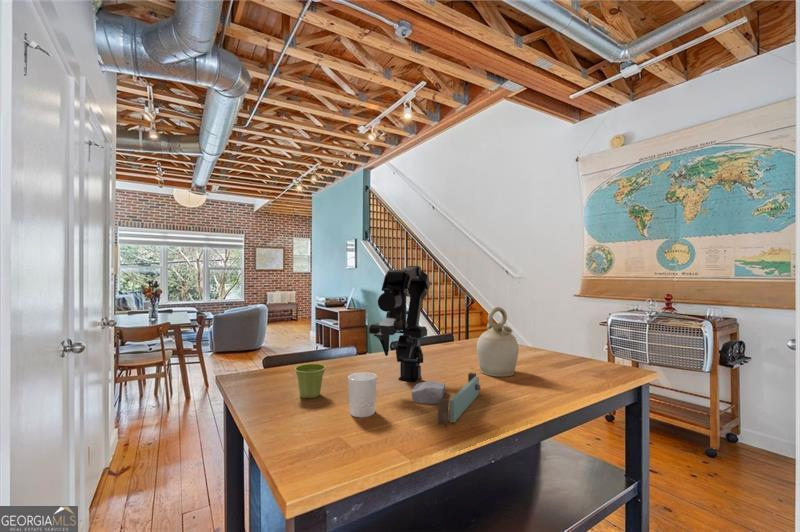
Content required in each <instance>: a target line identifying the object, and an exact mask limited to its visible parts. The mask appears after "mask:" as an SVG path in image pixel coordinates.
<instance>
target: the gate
mask: <svg viewBox="0 0 800 532" xmlns="http://www.w3.org/2000/svg"><path fill="white" fill-rule="evenodd" d="M480 391H481V384H480V377H479V376H477V375H476V376H475V377H474V378H473V379H472V380H471V381H470V382H469V383H468V382H467V384H465V385H464V386H463V387H462V388H461V389H460V390H459V391H458V392H457V393H455V394H454V395H453V396H452V397H451V398H450V399H449V422H451V423H456V421H457V419H459V418H460V417H461V415H462V414H464V412H465V411H466V410H467V409H468V407H469V406H470V405H471V404H472V403H473V402H474V401H475V400H476V398H477V397H478V396H479V395H480Z"/></svg>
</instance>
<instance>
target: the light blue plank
mask: <svg viewBox="0 0 800 532" xmlns="http://www.w3.org/2000/svg"><path fill="white" fill-rule="evenodd" d="M475 376H476V377H477V373H476V372H469V373H468V374H467V379H468V380H467V381H468V382H467V383H469V382H470V381H471V380H472V379H473V378H474V377H475ZM437 409H438V410H437V417H438V418H437V423H438V424H439V425H443V426H447V425H448V423H449V398H444V397H443V398H440V399H439V400H438V404H437Z"/></svg>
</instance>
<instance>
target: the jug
mask: <svg viewBox="0 0 800 532" xmlns="http://www.w3.org/2000/svg"><path fill="white" fill-rule="evenodd" d="M497 312H499V313H500V314H501V316H502V318H501V321H500V322H498V323H495V322H494V320H493V319H494V318H493V317H494V315H495V314H496V313H497ZM507 320H508V315H507V312H506V310H505V309H503V307H499V306H497V307H494V308H491V310H490V311H489V312H488V315H487V321H488V322H487V325H486V330H485V331H484V332H482V333H481V334H480V336H479V337H478V340H477V342H476V353H477V359H478V365H479V368H480V369H479V370H480V372H481V373H482V374H484V375H486V376H491V377H494V378H495V377H497V378H504V377H511V376H513V375H514V373H515V370H516V366H517V362H518V359H519V358H518V357H519V350H520V348H519V343H518V341H517V339H516V337H515V336H514V335H513V334H512V333H513V330H512V328H511V327H509V326H507V325H506V323H507Z"/></svg>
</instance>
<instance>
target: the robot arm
mask: <svg viewBox="0 0 800 532" xmlns="http://www.w3.org/2000/svg"><path fill="white" fill-rule="evenodd" d="M430 285H431V284H430V278H429V276H428V274H427V273H426V272H425V271H423V270H422V267H421V266H419V265H407V266H406V267H404V268H402V269H388V270H387V272H386V273H385V275H384V279H383V283H382V287H381V291H383V293H381V294H380V295H379V297H378V299H377V306H378V308H379V310H381V311H382V312H386V315H385V316H386V317H385V318H384V319H383V320H382V321H381V322H377V323H372V324H370V325H369V327H368V334H370V335H371V334H372V335H373V336H374V337H376V338H377V339H378V340H379V342H380V343H381V347H382V350H383V353H384V355H385V356H386V357H387V356H389V352H390V351H389V349H390V336H394V335H395V334H401V335H399V336H398V340H397V341H398V342H397V344H396V348H395V354H396V355H395V356H396V362H397V363H400V365H399V366H400V377H398V378H397V380H399V381H406V382H412V383H415V382H416V381H419V380H420V379H421V378H422V366H421V365H420V364H423V363H424V353H423V350H422V347H421V342H420V341H419V339H421V338H424V337H427V336H428V329H427V327H426V326H423V325H420V326H419V324H420V317H421V311H422V310H421V309H422V305H423V304H422V303H423V300H424V299H425V297H427V295H428V292H429V289H430ZM407 293H408V294H409V296H410V297H409V304H408V308H407ZM407 309H408V310H407Z"/></svg>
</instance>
